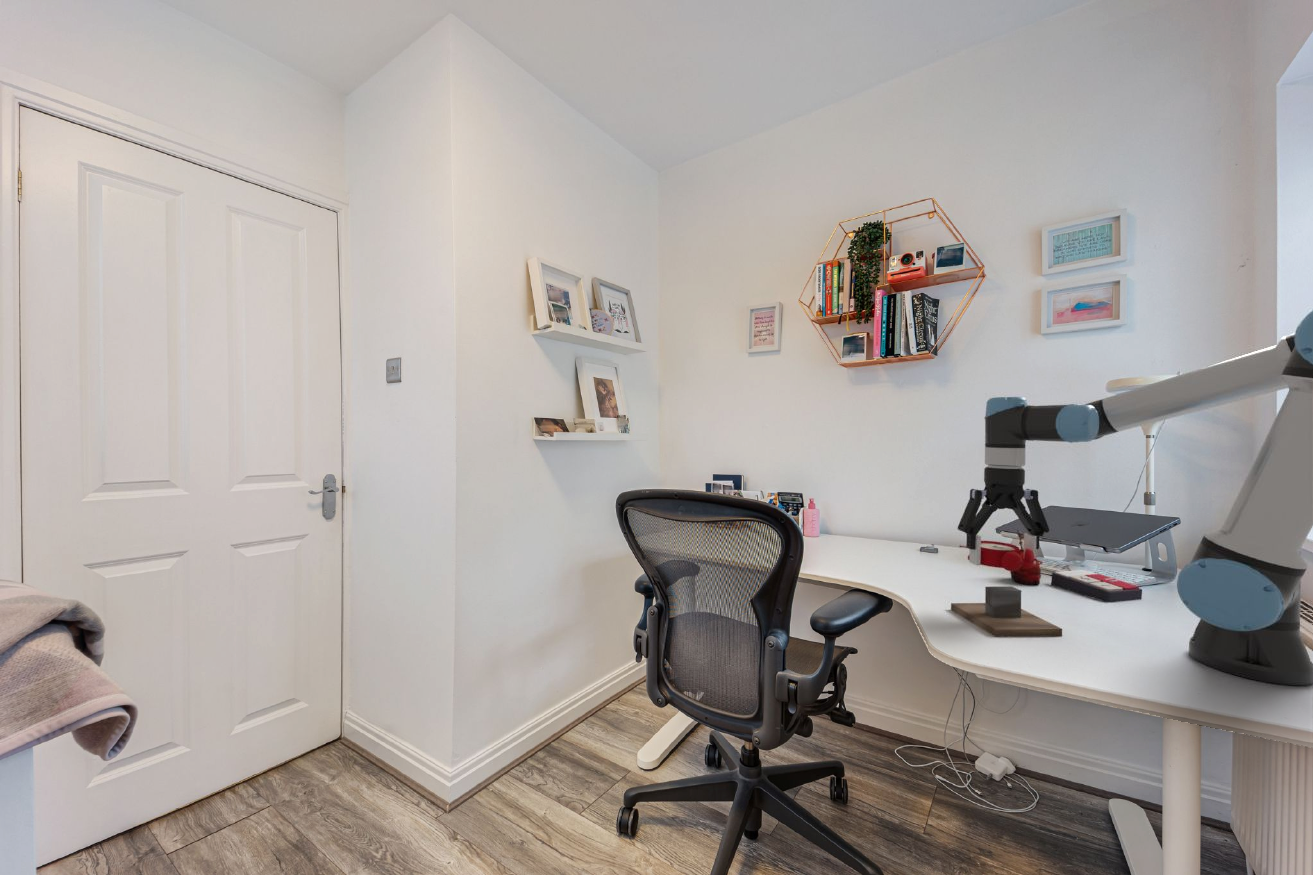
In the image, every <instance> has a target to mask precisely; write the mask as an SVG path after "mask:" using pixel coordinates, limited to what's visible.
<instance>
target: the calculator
mask: <svg viewBox="0 0 1313 875" xmlns="http://www.w3.org/2000/svg"><path fill="white" fill-rule="evenodd" d="M1050 581H1051V582H1050V585H1051V586H1054V587H1057V588H1059V589H1064V590H1069V591H1072V592H1075V593H1077V594H1080V595H1083V596H1087V597H1089V598H1092V597H1093V598H1092V599H1096V600H1098V599H1099V601H1102V602H1105V603H1115V602H1116V603H1119V602H1128V601H1136V600H1142V599H1143V598H1142V597H1143V589H1142V588H1141V587H1140V586H1138V585H1136V584H1132V583H1129V582H1125V581H1123V580H1119V579H1116V578H1113V577H1110V576H1107V575H1104V574H1101V573H1094V572H1092V571H1089V570H1086V569H1078V570H1077V569H1075V570H1063V571H1062V570H1061V571H1054V572H1052V573H1051V580H1050Z"/></svg>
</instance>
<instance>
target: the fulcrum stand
mask: <svg viewBox="0 0 1313 875" xmlns="http://www.w3.org/2000/svg"><path fill="white" fill-rule="evenodd" d="M984 590H985V592H984V593H985V597H984V602H965V603H964V602H957V603H956V602H954V603H953V602H952V603H950V610H951V611H953V613H956V614H958V615H959V616H961V617H962V618H964V619H966V620H968V621H969V622H971V623H972V624H974V625H975V626H977V627H979V628H981V629H982V630H984V631H985V632H987V633H989V634H991V635H992V636H994V637H995V638H997V637H999V638H1000V637H1001V636H1004V637H1005V638H1006V637H1008V636H1010V637H1063V628H1061V627H1059V626H1057V625H1055V624H1053V623H1051V622H1049V621H1048V620H1045V619H1043V618H1041V617H1040V616H1037V615H1035V614H1033V613H1031V612H1029V611H1026V610H1025V609H1022V590H1021V589H1018V588H1017V587H1014V586H1012V585H1011V586H1007V585H1006V586H1005V585H1004V586H1003V585H1002V586H996V585H995V586H985V588H984ZM1004 637H1003V638H1004Z"/></svg>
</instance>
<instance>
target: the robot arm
mask: <svg viewBox="0 0 1313 875" xmlns="http://www.w3.org/2000/svg"><path fill="white" fill-rule="evenodd" d="M1287 389H1288V392H1287V395H1286V396H1285V398H1284V400H1283V402H1282V404H1281V406H1280V409H1279V410H1278V412H1277V414H1276V417H1275V418H1274V421H1273V422H1272V424H1271V426H1270V429H1269V431H1268V433H1267V435H1266V437H1265V439H1264V440H1263V443H1262V445H1261V447H1260V449H1259V451H1258V453H1257V454H1256V457H1255V459H1254V461H1253V464H1252V466H1251V467H1250V469H1249V472H1248V473H1247V476H1246V477H1245V480H1244V482H1243V484H1242V486H1241V488H1240V490H1239V492H1238V494H1237V496H1236V498H1235V500H1234V503H1233V504H1232V506H1231V509H1230V510H1229V512H1228V514H1227V516H1226V519H1225V521H1224V523H1223V524H1222V526H1221V527H1220V528H1218V529H1214V530H1210V531H1205V533H1204V534H1203V536H1202V539H1201V541H1200V543H1199V544H1198V546H1197V548H1196V551H1195V552H1194V554H1193V557H1192V559H1191V560H1190V563H1188V564H1186V565H1185V566H1184V567H1183V568H1181V570H1180V571H1179V574H1178V577H1177V581H1176V590H1177V593H1178V597H1179V598H1180V600H1181V601H1182V603H1183V604H1184V605H1185V607H1186V608H1187V609H1188V610H1189V612H1191V613H1192V614H1194V615H1195V616H1196V617H1197V618H1199V619H1200V620H1199V621H1198V623H1197V625H1196V628H1195V630H1194V632H1193V635H1192V636H1191V637H1190V639H1189V640H1188V641H1189V642H1188V654H1189V655H1190V656H1191V657H1192V658H1193V659H1195V660H1196V661H1198V662H1199V663H1201V664H1204V665H1205V666H1208V667H1211V668H1213V669H1216V670H1219V671H1222V672H1225V673H1228V674H1231V675H1234V676H1238V677H1242V678H1245V679H1249V680H1250V679H1251V680H1255V681H1261V682H1265V683H1272V684H1276V685H1277V684H1278V685H1285V686H1309V685H1312V684H1313V662H1312V660H1311V658H1310V655H1309V652H1308V650H1307V647H1306V644H1305V642H1304V639H1303V637H1302V635H1301V596H1302V595H1301V588H1302V587H1301V586H1302V585H1301V584H1302V582H1301V581H1302V579H1303V576H1304V574H1305V573H1306V571H1307V569H1308V567H1309V565H1308V563H1307V562H1306V560H1305V559H1304V557H1303V556H1302V553H1301V548H1302V547H1303V544H1304V543H1305V540H1307V537H1308V536H1309V534H1310V532H1311V530H1312V528H1313V309H1311V310H1310V311H1309V312H1307V314H1306V315H1305V316H1304V317H1303V318H1302V319H1301V320H1300V322H1299V323H1298V325H1297V327H1296V330H1295V332H1294V333H1291V334H1288V335H1284V336H1282V337H1281V339H1279V341H1278V342H1277V344H1276V345H1274V346H1269V347H1267V348H1264V349H1259V350H1257V351H1253V352H1251V353H1248V354H1244V355H1242V356H1241V355H1240V356H1238V357H1234V358H1230V359H1227V360H1224V361H1222V362H1218V363H1215V364H1211V365H1209V366H1205V367H1202V368H1198V369H1196V370H1192V371H1189V372H1186V373H1183V374H1180V375H1179V374H1178V375H1176V376H1173V377H1169V378H1166V379H1163V380H1160V381H1156V382H1153V383H1150V384H1146V385H1143V386H1141V387H1137V388H1134V389H1131V390H1128V391H1124V392H1121V393H1118V394H1114V395H1111V396H1108V397H1105V398H1103V399H1098V400H1095V401H1091V402H1088V403H1086V404H1080V403H1078V404H1077V403H1068V404H1052V405H1051V404H1050V405H1029V404H1028V403H1027V399H1026V398H1025V397H1023V396H1008V397H1007V396H998V397H995V396H994V397H990V398H989V399H988V400H987V402H986V404H985V405H986V406H985V416H984V423H985V425H984V426H985V428H984V430H985V431H984V432H985V434H984V442H985V443H984V464H985V465H987V466H985V467H984V469H983V470H984V472H983V473H984V474H983V481H984V489H976V488H971V489H970V491H969V499H968V502H967V503H966V506H965V509H964V511H963V513H962V516H961V518H960V521H959V523H958V526H957V530H958V531H960V532H963V533H965V534H966V545H965V546H967V548H966V549H969V554H970V557H969V560H968V561H969V563H971V564H972V565H975V566H981V565H980V554H981V541H982V536H981V535H978V534H979V532H981V530H982V529H983V527H984V526H985V524H986V523H987V521H988V520H989V519H990V517H991V516H992V514H994V512H996V511H997V510H1004V509H1007V510H1012V511H1013V512H1014V513H1015V515H1016V516H1017V518H1018V520H1019V521H1020V522H1021V524H1022V525H1023V526H1024V528H1025V529H1026V530H1027V531H1026V532H1028V533H1025V532H1024V534H1023V536H1024V538H1023V549H1024V554H1025V550H1026V549H1030V550H1032V551H1033V553H1034V559H1037V550H1039V548H1040V537H1043V536H1044V535H1045V533H1047V534H1048V533H1049V532H1050V528H1049V525H1048V522H1047V520H1046V517H1045V515H1044V511H1043V509H1042V507H1041V504H1040V501H1039V491H1038V490H1037V489H1036V490H1035V489H1032V488H1025V489H1024V485H1025V482H1026V480H1025V479H1026V470H1025V469H1024V468H1023V467H1024V466H1026V448H1027V447H1026V443H1027V442H1026V441H1028V442H1029V441H1032V442H1033V441H1037V442H1038V441H1039V442H1040V441H1041V442H1063V443H1064V442H1066V443H1071V444H1072V443H1079V442H1080V443H1084V442H1085V443H1086V442H1087V443H1089V442H1091V441H1094V440H1098V439H1102V438H1103V437H1104V436H1108V435H1111V434H1116V433H1120V432H1123V431H1126V430H1131V429H1134V428H1139V427H1142V426H1146V425H1149V424H1154V423H1157V422H1161V421H1165V420H1169V419H1172V418H1177V417H1181V416H1185V415H1188V414H1189V415H1190V414H1192V413H1196V412H1201V411H1204V410H1207V409H1208V410H1209V409H1211V408H1216V407H1219V406H1220V407H1221V406H1222V405H1227V404H1231V403H1235V402H1238V401H1242V400H1246V399H1250V398H1255V397H1258V396H1261V395H1266V394H1269V393H1273V392H1277V391H1281V390H1287ZM1023 498H1024V500H1025V503H1026V506H1027V507H1026V506H1025V505H1024V503H1023V502H1022V499H1023ZM983 499H985V500H984V502H983V503H982V500H983ZM981 503H982V504H981ZM980 507H981V508H980ZM979 508H980V509H979ZM1026 508H1027V509H1028V510H1027V509H1026ZM1028 511H1029V512H1028ZM1034 564H1036V561H1034Z"/></svg>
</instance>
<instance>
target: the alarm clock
mask: <svg viewBox="0 0 1313 875" xmlns="http://www.w3.org/2000/svg"><path fill="white" fill-rule="evenodd" d="M958 547H959V548H964V549H968V548H967V546H966V545H965V546H964V545H961V544H960V545H959V546H958ZM1019 549H1020V548H1019V546H1017V545H1014V544H1012V543H1006V542H1002V541H993V540H981V554H980V565H979V566H984V567H990V568H991V567H992V568H998V569H1004V570H1006V571H1008V572H1010V571H1017V570H1019V569H1020V567H1022V566H1023V564H1024V567H1025V568H1031V567H1032V566H1033V565H1040V566H1041V565H1043V561H1042V560H1041V561H1040V560H1039V559H1038V558H1036V559H1034V553H1033V551H1032V550H1030V549H1026V550H1025V554H1024V559H1022V558H1021V556H1020V555H1019V554H1020V550H1019ZM969 557H970V553H969V554H968V556H967V560H968V561H969ZM1022 560H1024V561H1022ZM1034 561H1038V562H1039V563H1038V564H1034ZM1022 562H1024V563H1022Z"/></svg>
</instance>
